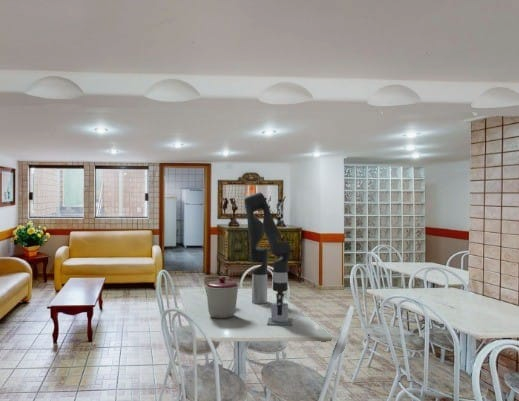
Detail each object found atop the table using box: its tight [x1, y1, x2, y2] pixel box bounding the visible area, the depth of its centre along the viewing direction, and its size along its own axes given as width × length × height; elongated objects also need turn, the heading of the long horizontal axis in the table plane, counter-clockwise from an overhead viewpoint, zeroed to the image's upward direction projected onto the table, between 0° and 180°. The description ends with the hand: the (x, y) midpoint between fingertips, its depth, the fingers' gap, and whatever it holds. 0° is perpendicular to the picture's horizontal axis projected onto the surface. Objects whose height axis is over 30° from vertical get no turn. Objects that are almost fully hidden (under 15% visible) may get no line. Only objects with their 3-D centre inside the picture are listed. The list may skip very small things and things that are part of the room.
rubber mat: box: [266, 317, 293, 327], centre depth 216 cm, size 12×12×1 cm
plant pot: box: [203, 275, 230, 295], centre depth 253 cm, size 15×15×16 cm
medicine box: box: [270, 302, 289, 322], centre depth 216 cm, size 8×4×9 cm, turn 75°
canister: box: [204, 275, 240, 319], centre depth 226 cm, size 18×18×21 cm
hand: (280, 313), depth 216 cm, fingers open, 8 cm apart
